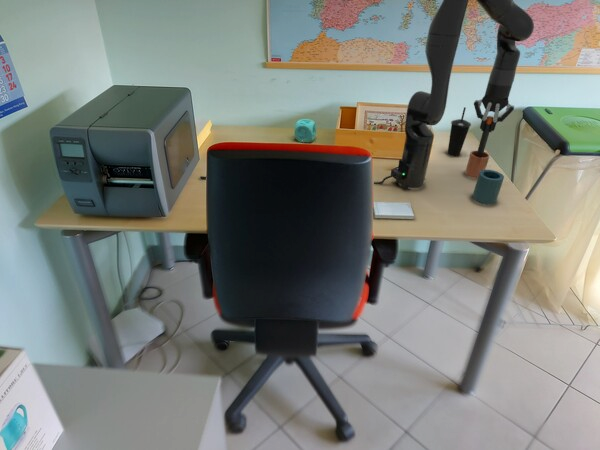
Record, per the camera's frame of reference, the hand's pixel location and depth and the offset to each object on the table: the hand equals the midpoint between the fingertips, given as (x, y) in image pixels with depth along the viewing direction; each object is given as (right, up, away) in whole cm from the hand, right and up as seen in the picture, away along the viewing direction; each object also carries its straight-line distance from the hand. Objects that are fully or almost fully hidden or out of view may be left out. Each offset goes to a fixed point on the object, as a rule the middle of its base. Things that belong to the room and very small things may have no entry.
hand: (486, 130), depth 145 cm
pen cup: (0, -15, +10) cm, 18 cm away
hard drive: (-37, -30, -12) cm, 49 cm away
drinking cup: (-2, -4, +27) cm, 27 cm away
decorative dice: (-65, +5, +38) cm, 75 cm away
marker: (0, -8, +6) cm, 10 cm away
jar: (-3, -25, -5) cm, 26 cm away
